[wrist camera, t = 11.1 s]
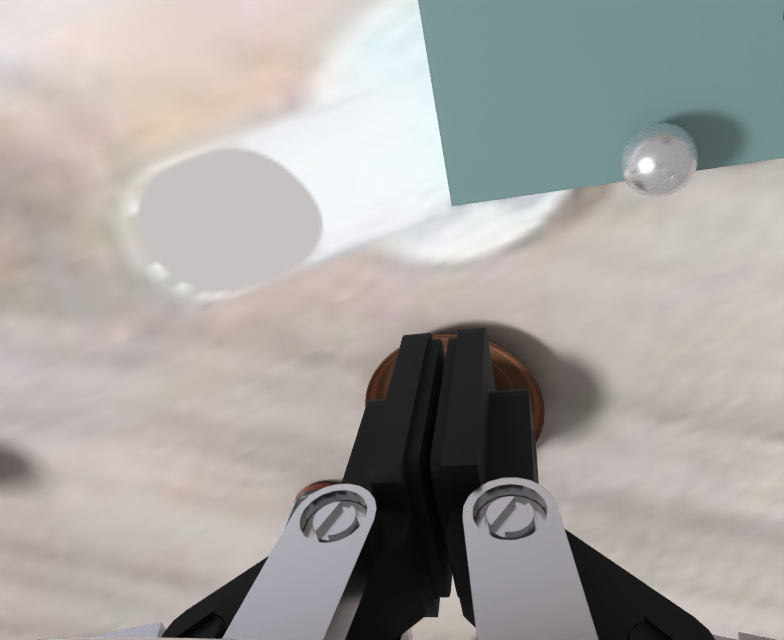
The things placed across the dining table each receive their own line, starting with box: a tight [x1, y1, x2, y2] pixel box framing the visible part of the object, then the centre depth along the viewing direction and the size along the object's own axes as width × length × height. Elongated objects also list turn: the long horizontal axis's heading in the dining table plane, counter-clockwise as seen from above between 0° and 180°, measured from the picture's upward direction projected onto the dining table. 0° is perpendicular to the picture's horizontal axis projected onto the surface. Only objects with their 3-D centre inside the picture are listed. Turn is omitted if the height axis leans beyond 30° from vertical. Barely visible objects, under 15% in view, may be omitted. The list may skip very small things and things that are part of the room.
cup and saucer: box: [365, 334, 544, 442], centre depth 41 cm, size 12×12×6 cm
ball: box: [620, 123, 698, 197], centre depth 30 cm, size 3×3×3 cm
